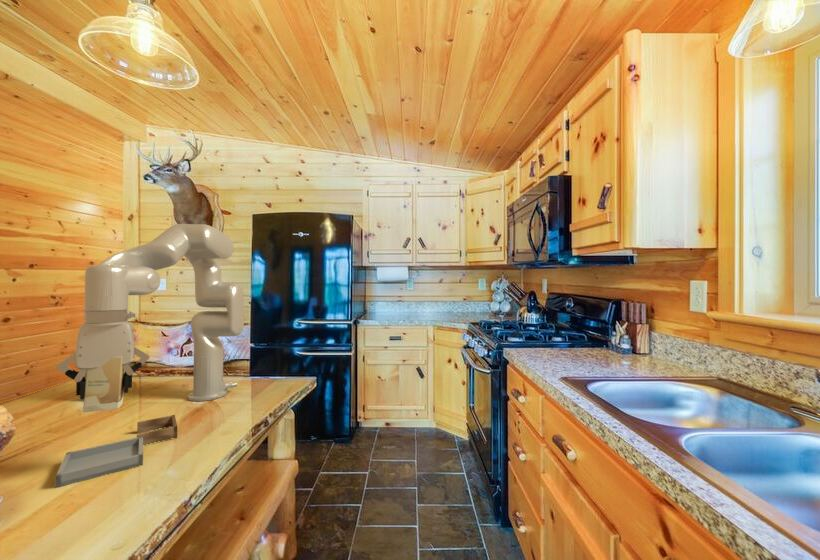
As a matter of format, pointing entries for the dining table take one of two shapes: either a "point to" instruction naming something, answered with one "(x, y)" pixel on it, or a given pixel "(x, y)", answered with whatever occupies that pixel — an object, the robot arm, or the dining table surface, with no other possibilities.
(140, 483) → the dining table surface
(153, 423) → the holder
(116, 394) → the skincare box
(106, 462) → the tray
